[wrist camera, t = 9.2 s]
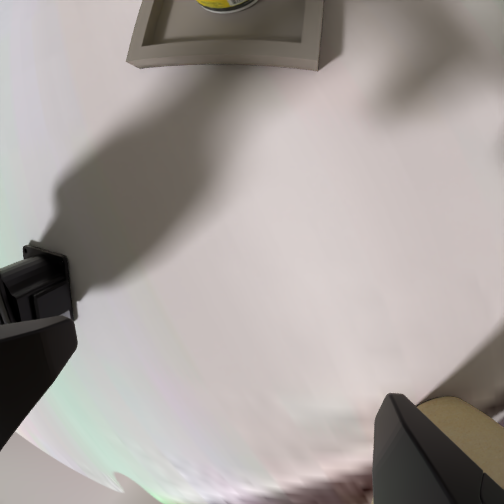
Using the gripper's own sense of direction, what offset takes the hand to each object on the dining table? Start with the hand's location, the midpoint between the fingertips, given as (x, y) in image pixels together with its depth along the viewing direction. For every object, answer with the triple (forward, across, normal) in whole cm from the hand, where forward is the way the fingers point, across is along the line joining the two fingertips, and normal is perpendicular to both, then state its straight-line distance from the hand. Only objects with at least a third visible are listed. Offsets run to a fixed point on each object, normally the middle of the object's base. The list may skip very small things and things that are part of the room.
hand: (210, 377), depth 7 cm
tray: (+12, +5, -18) cm, 22 cm away
